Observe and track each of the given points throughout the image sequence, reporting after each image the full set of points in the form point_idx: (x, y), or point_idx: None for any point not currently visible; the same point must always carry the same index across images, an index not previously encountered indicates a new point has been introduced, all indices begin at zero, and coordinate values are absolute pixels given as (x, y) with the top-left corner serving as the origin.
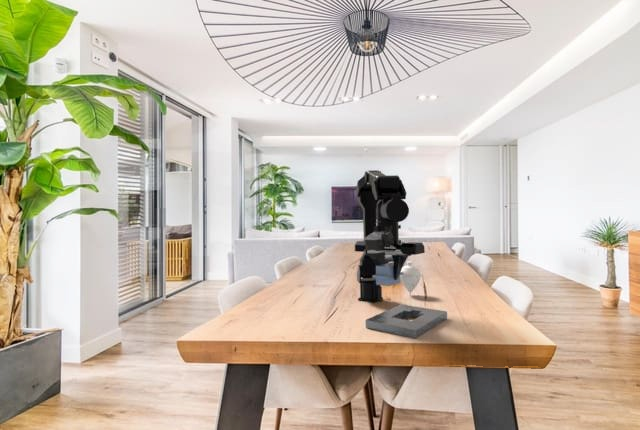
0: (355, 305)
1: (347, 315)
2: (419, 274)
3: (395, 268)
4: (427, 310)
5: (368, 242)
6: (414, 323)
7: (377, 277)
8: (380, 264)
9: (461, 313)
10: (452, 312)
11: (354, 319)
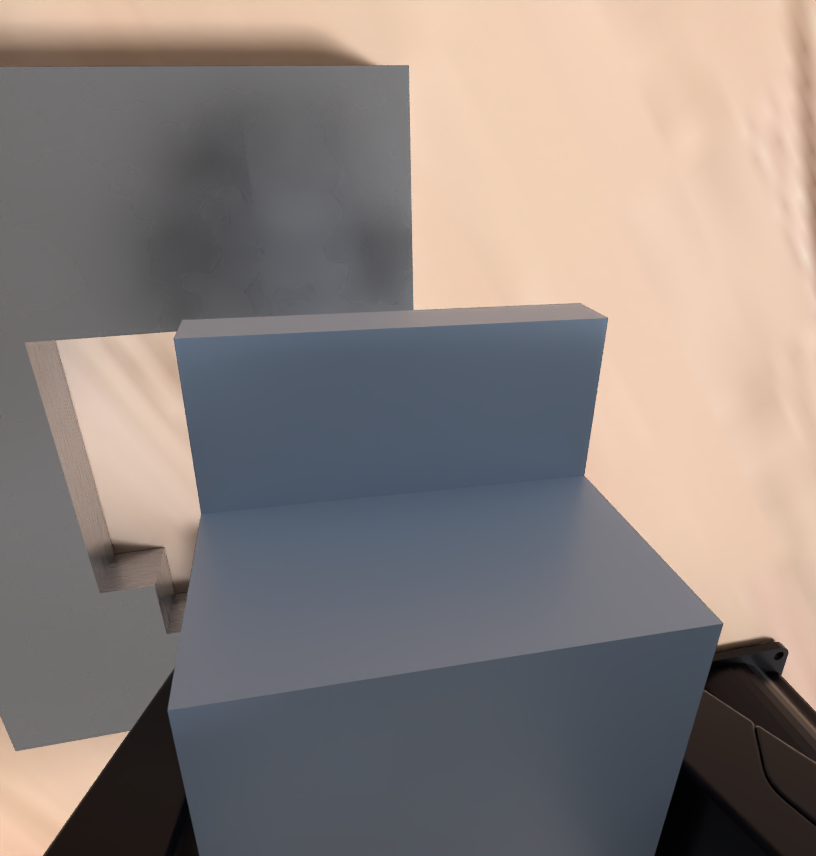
0: (746, 542)
1: (698, 296)
2: None
3: (113, 843)
4: (152, 680)
5: None
6: None
7: (442, 315)
8: (683, 848)
9: (50, 838)
10: None
11: (600, 237)
